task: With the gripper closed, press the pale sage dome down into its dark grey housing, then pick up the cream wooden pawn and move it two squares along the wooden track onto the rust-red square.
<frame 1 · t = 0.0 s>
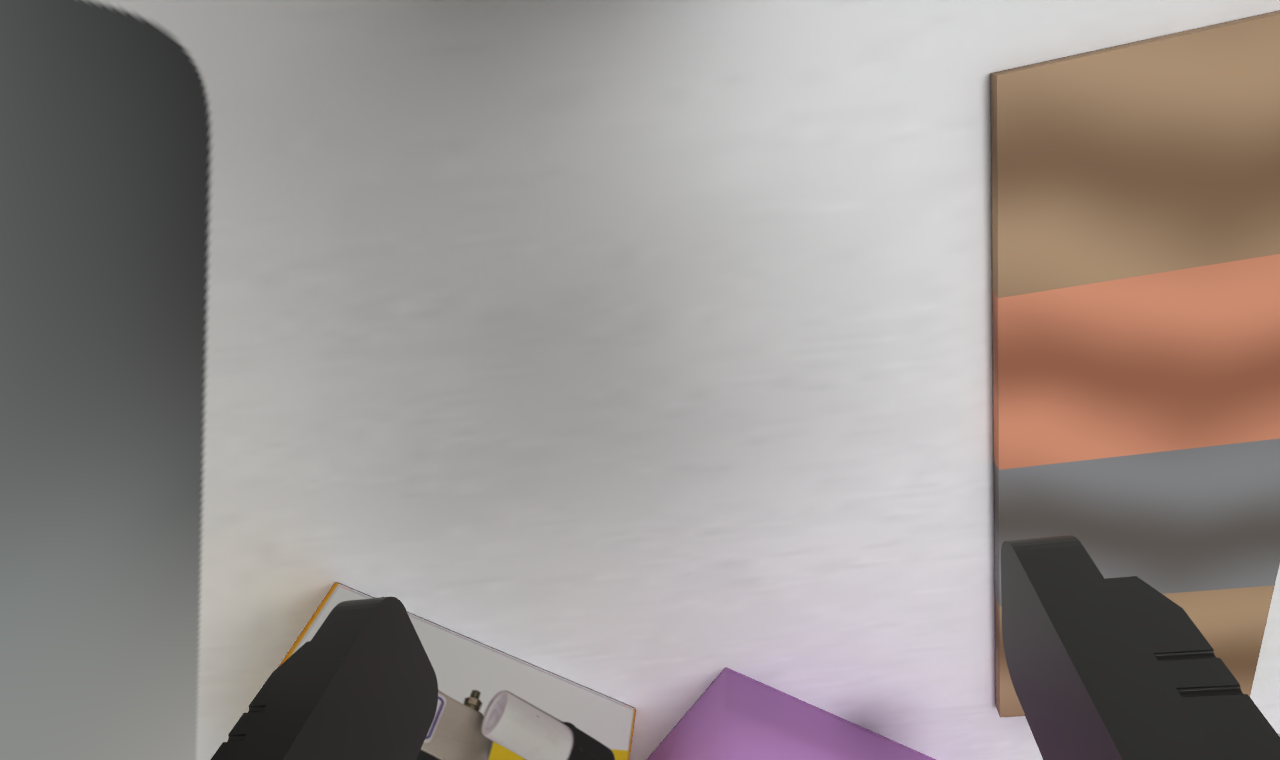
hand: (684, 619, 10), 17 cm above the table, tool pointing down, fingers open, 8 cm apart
track board: (1139, 444, 27), on the table
packaging box: (442, 730, 40), on the table
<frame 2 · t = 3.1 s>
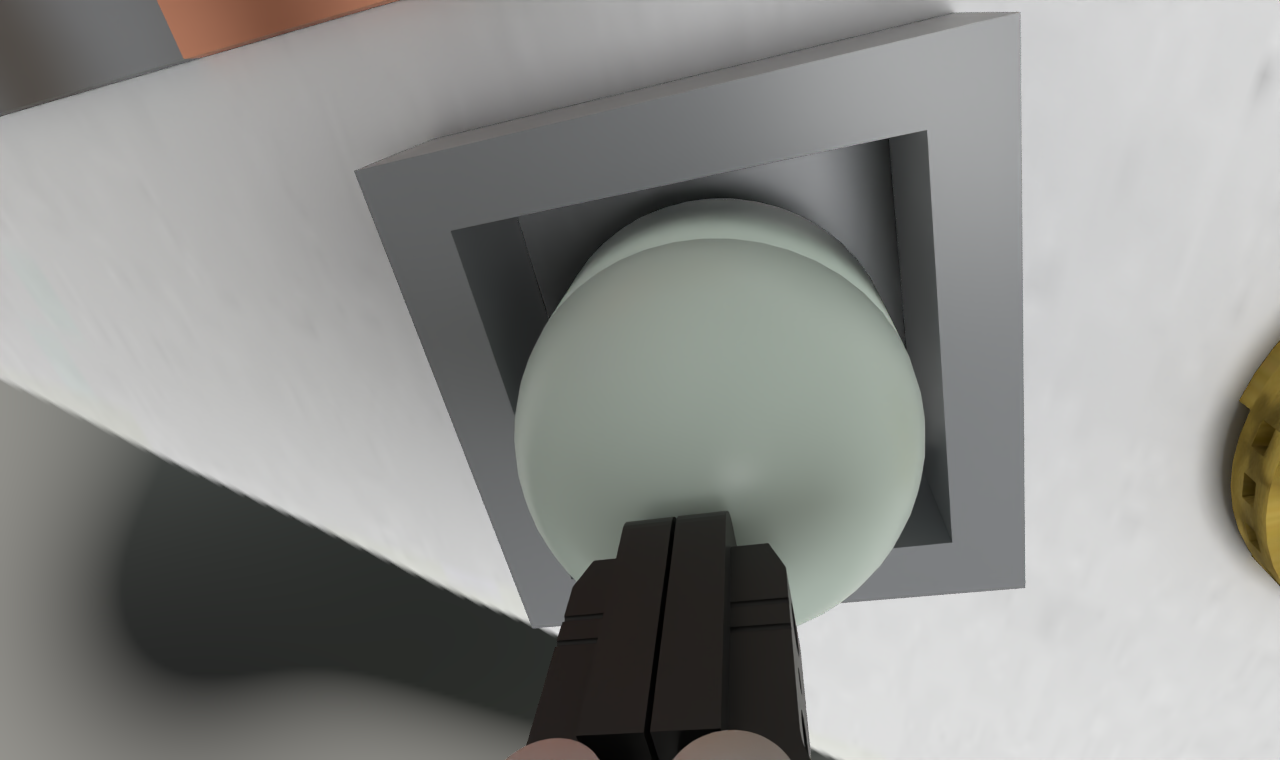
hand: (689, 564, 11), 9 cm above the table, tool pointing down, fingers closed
dome housing: (721, 324, 19), on the table
dome: (714, 431, 14), point 5 cm above the table, slide at 0.0 cm, touching gripper
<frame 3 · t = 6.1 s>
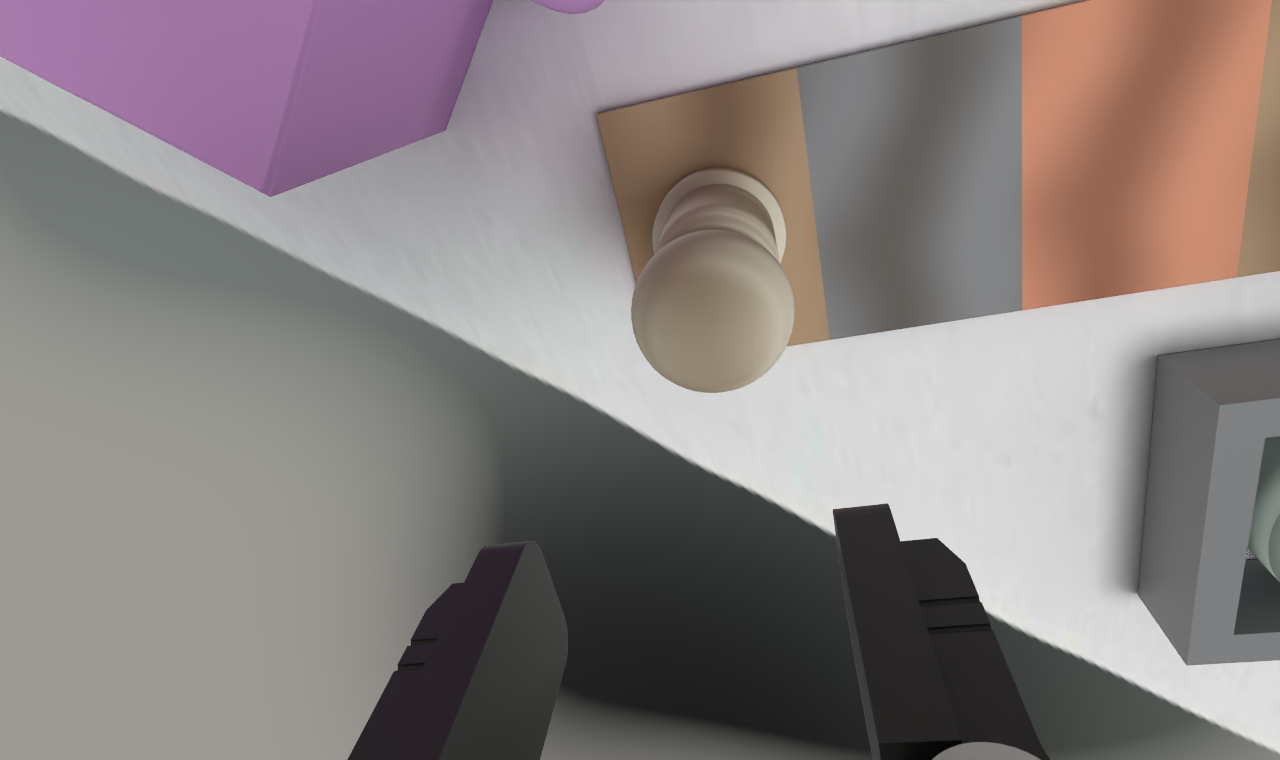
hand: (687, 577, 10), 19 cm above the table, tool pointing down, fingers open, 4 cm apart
track board: (1016, 172, 25), on the table
pawn: (718, 232, 27), point 1 cm above the table, touching track board
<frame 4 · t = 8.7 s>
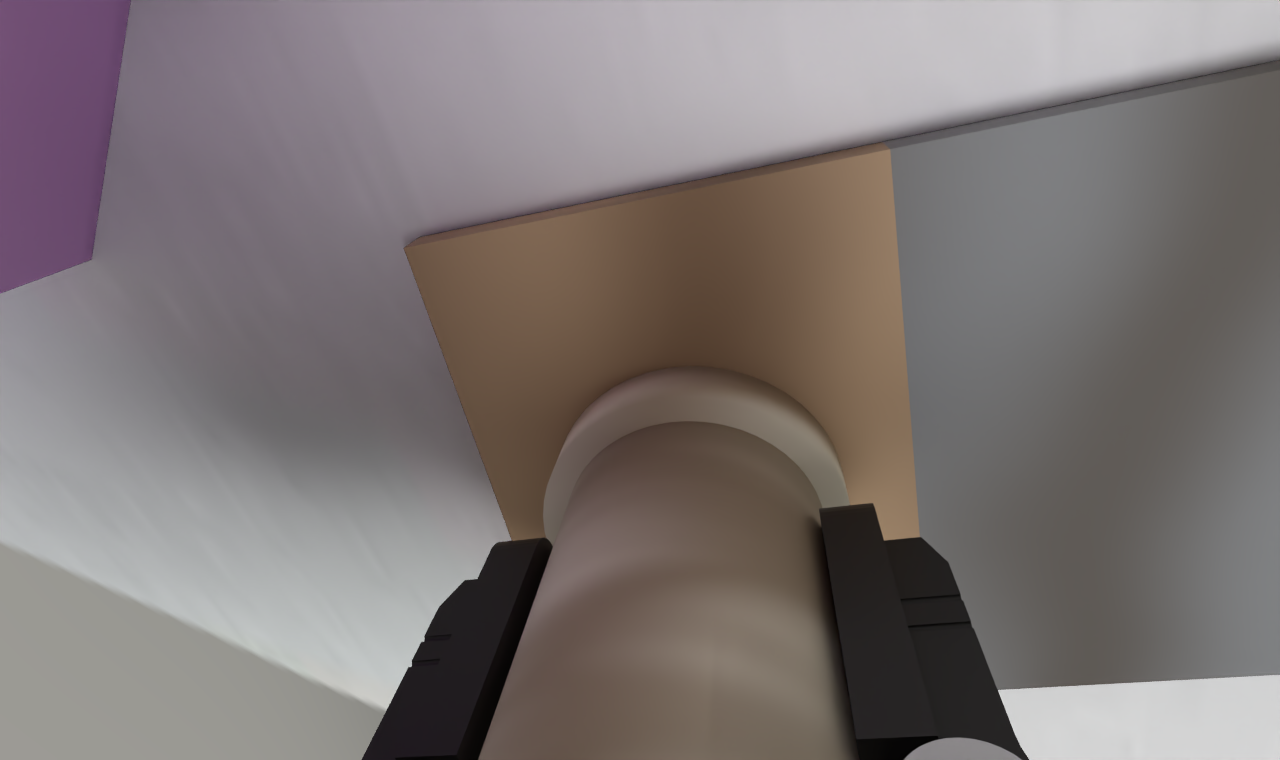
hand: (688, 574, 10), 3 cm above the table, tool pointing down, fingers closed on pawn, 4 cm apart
pawn: (697, 495, 12), point 1 cm above the table, touching gripper, track board
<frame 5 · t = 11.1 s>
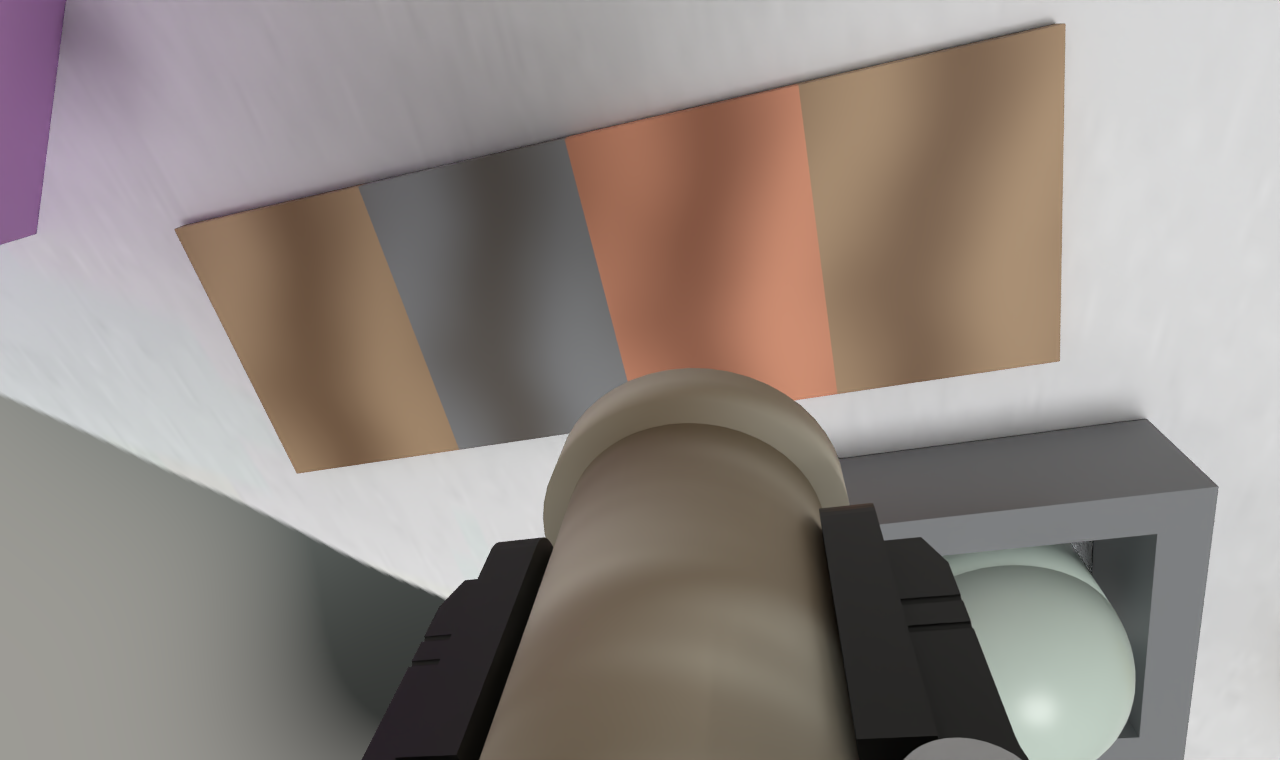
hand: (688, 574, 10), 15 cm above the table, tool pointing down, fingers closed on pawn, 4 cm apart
track board: (607, 287, 24), on the table
pawn: (697, 496, 12), point 13 cm above the table, touching gripper
dome housing: (966, 574, 28), on the table
dome: (1000, 652, 25), point 4 cm above the table, slide at 1.6 cm
when the fingers open (4 cm above the table, at t = 13.6 s): pawn drops 1 cm, resting on track board.
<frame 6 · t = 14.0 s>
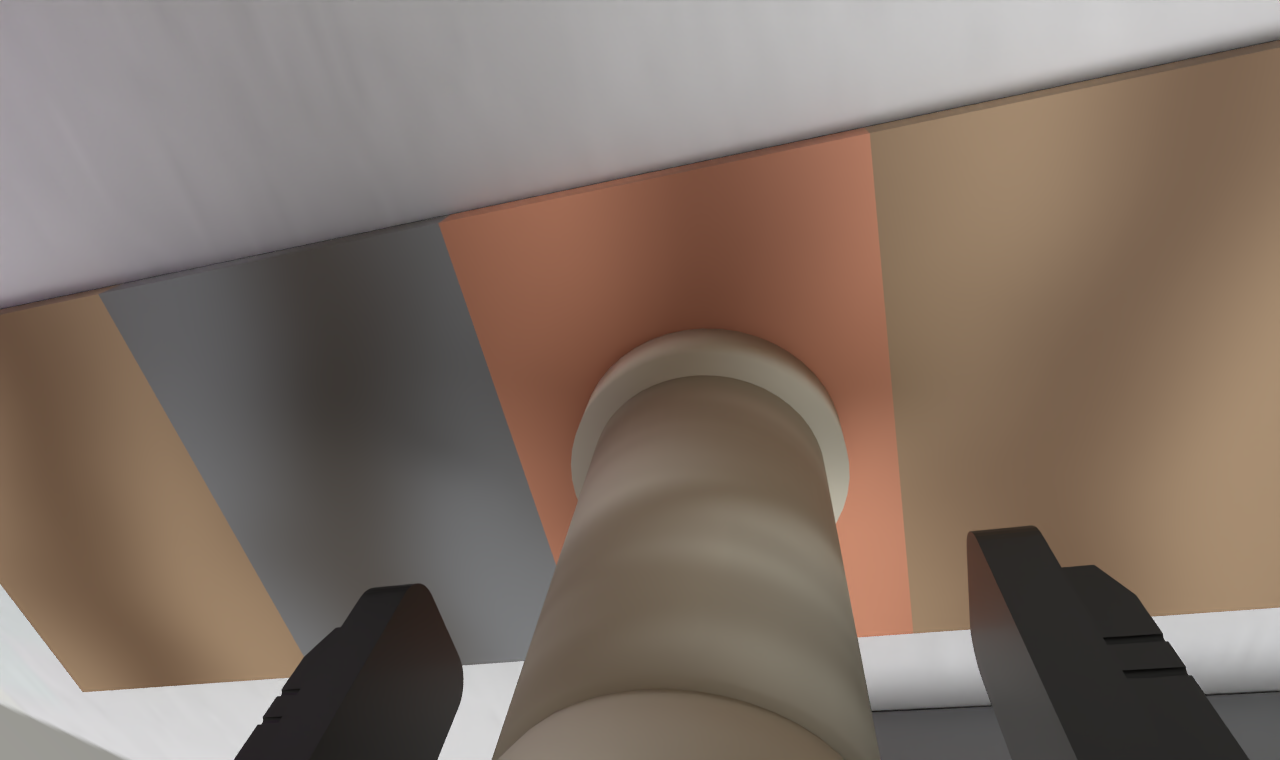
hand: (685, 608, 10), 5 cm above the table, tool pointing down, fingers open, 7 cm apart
track board: (531, 454, 15), on the table
pawn: (709, 448, 13), point 1 cm above the table, touching track board
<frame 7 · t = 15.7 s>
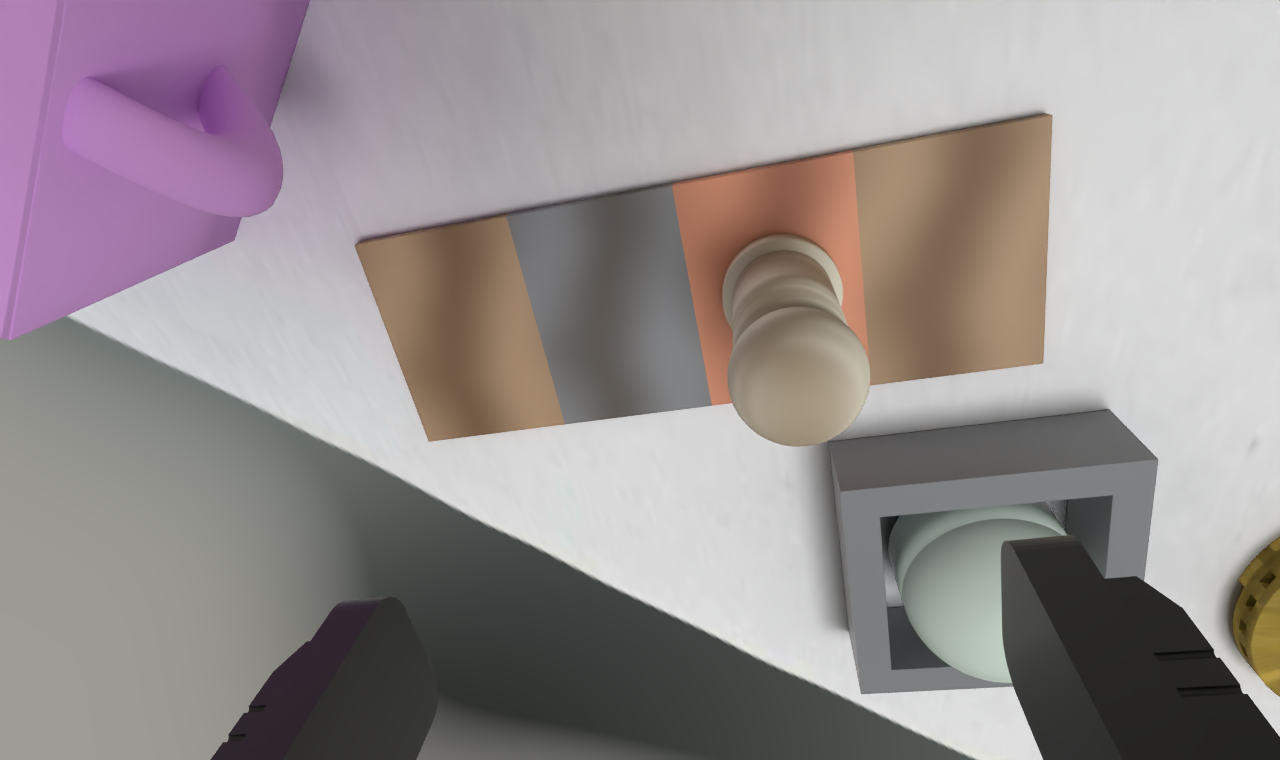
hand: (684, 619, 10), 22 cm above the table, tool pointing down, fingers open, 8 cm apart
track board: (693, 298, 31), on the table
pawn: (780, 290, 30), point 1 cm above the table, touching track board
dome housing: (965, 532, 35), on the table
dome: (992, 588, 32), point 4 cm above the table, slide at 1.6 cm
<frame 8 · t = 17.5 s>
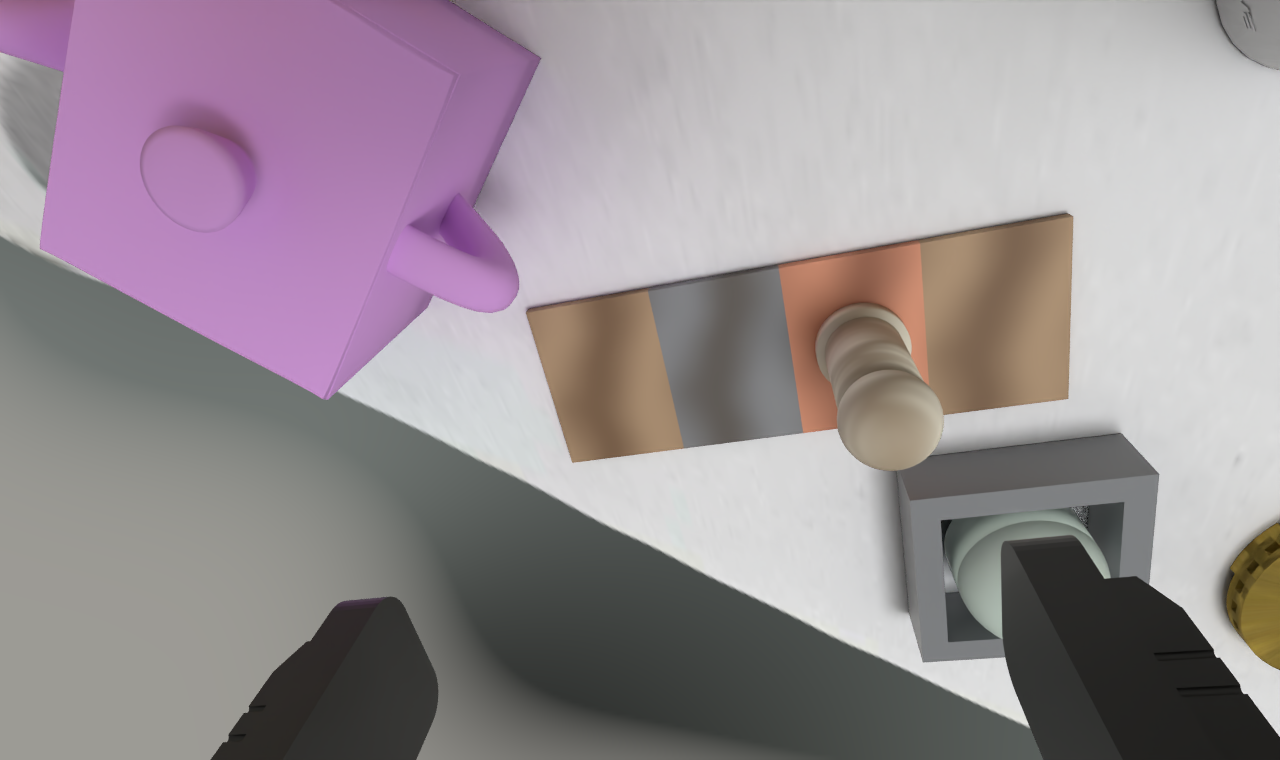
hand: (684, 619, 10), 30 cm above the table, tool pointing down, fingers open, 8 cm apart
track board: (790, 350, 40), on the table
teapot: (351, 116, 38), on the table
pawn: (860, 344, 39), point 1 cm above the table, touching track board
dome housing: (1006, 531, 44), on the table
dome: (1029, 576, 40), point 4 cm above the table, slide at 1.6 cm
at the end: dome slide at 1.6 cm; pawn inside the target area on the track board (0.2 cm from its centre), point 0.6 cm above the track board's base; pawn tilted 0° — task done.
